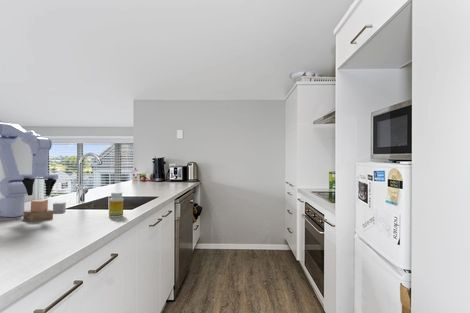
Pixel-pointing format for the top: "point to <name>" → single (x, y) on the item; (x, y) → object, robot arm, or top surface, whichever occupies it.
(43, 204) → the terracotta cube
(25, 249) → the top surface
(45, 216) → the walnut block
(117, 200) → the supplement bottle
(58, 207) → the grey cube
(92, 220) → the top surface
